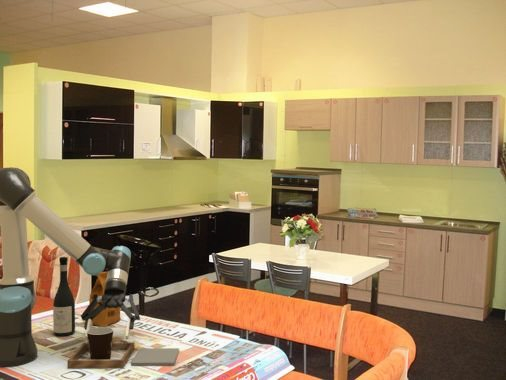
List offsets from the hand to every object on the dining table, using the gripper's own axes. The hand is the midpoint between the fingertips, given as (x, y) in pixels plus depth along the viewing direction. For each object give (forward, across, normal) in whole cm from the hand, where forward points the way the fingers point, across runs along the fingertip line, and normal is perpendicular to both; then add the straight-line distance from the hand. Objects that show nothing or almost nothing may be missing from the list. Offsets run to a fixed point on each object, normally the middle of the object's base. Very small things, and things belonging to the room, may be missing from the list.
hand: (107, 337), depth 184 cm
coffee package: (-24, +11, -35) cm, 44 cm away
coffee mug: (+6, +1, -4) cm, 7 cm away
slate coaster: (+6, -17, -4) cm, 18 cm away
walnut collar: (+6, +1, -4) cm, 7 cm away
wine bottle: (-14, +23, -24) cm, 36 cm away
